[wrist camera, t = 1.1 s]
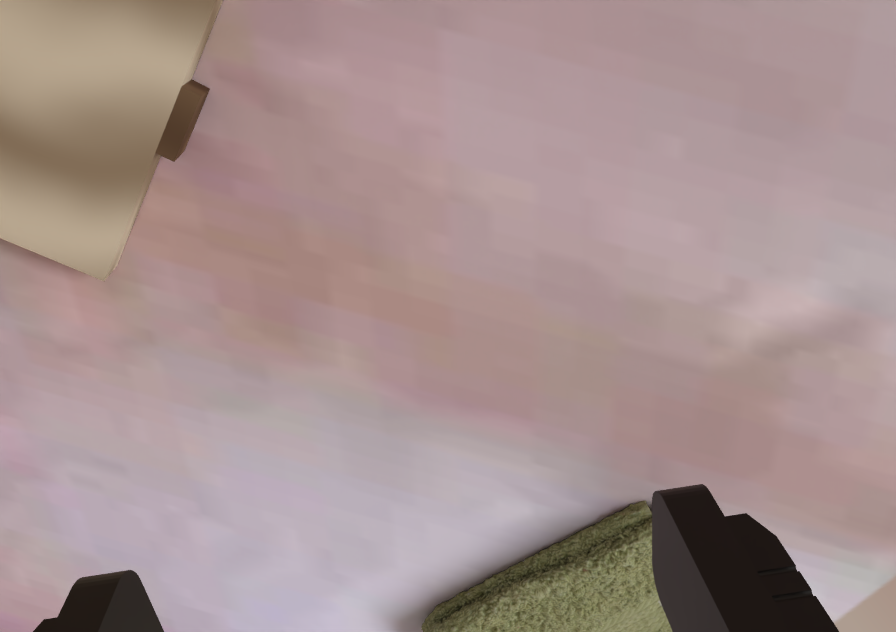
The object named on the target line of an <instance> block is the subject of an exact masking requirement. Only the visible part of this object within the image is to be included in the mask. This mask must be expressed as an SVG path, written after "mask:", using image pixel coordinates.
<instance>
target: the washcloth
mask: <svg viewBox="0 0 896 632" xmlns="http://www.w3.org/2000/svg"><path fill="white" fill-rule="evenodd" d="M422 630H423V632H673V631H672V629H671V626H670V624H669V622H668V619H667V617H666V614H665V612H664V610H663V607H662V605H661V602H660V599H659V596H658V593H657V589H656V585H655V581H654V575H653V568H652V512H651V511H650V509H649V507H648V505H647V504H646V501H641V502H638V503H636V504H634V505H633V504H630V505H629V507H627V508H625V509H624V510H622V511H621V512H617V513H615V514H613V515H611V516H608V517H607V518H605V519H603V520H602V521H601V522H599V523H597V524H595V525H594V526H590V527H589V528H586V529H585V530H583V531H579V532H577V533H576V534H575V535H571V536H570V537H569V538H567V539H565V540H563V541H562V542H560V543H556V544H553V545H552V546H551V547H549V548H548V549H545V550H541V551H540V552H539V553H538V554H535V556H531V557H529V558H526V559H525V561H524V562H519V563H518V564H516V565H514V566H512V567H510V568H508V569H507V570H505V571H504V572H500V573H499V574H495V575H493V576H492V577H491V578H489V579H486V580H485V581H484V582H483V583H482V584H479V585H476V586H475V587H472V588H470V589H469V591H464V592H461V593H459V594H458V595H456V597H454V598H453V599H451V600H449V601H445V602H442V603H441V604H439V605H437V606H436V607H435V609H434V611H433V612H432V613H431V614H430V615H428V617H427V618H426V619H425V622H424V623H423V625H422Z"/></svg>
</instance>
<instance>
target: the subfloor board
mask: <svg viewBox="0 0 896 632" xmlns="http://www.w3.org/2000/svg"><path fill="white" fill-rule="evenodd" d="M222 2H223V0H0V238H1V239H3V240H6V241H8V242H11V243H13V244H15V245H18V246H20V247H23V248H25V249H27V250H30V251H32V252H35V253H37V254H39V255H42V256H44V257H47V258H49V259H51V260H54V261H56V262H59V263H61V264H64V265H66V266H68V267H71V268H73V269H76V270H78V271H80V272H83V273H85V274H88V275H90V276H92V277H95V278H97V279H100V280H102V281H105V280H106V279H107V277H108V276H109V275H110V274H111V272H112V271H113V270H114V269H115V268H116V266H117V264H118V262H119V259H120V257H121V254H122V252H123V249H124V247H125V244H126V242H127V239H128V237H129V234H130V232H131V229H132V227H133V224H134V222H135V219H136V217H137V214H138V212H139V209H140V207H141V204H142V202H143V199H144V197H145V194H146V192H147V189H148V187H149V184H150V182H151V179H152V177H153V174H154V172H155V169H156V167H157V164H158V162H159V159H160V157H161V156H163V157H165V158H167V159H169V160H171V161H175V160H176V159H177V158H178V157H179V156H180V155H181V154H182V153H183V152H184V150H185V148H186V146H187V143H188V141H189V138H190V136H191V133H192V131H193V129H194V126H195V124H196V121H197V119H198V116H199V114H200V111H201V109H202V107H203V104H204V102H205V99H206V97H207V94H208V92H209V90H210V89H209V88H207V87H205V86H203V85H202V84H200V83H198V82H196V81H194V80H192V77H193V74H194V72H195V69H196V67H197V64H198V62H199V59H200V57H201V54H202V52H203V49H204V47H205V44H206V42H207V39H208V37H209V34H210V32H211V29H212V27H213V24H214V22H215V19H216V17H217V14H218V12H219V9H220V7H221V4H222Z"/></svg>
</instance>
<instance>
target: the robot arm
mask: <svg viewBox="0 0 896 632" xmlns="http://www.w3.org/2000/svg"><path fill="white" fill-rule="evenodd" d="M652 568H653V575H654V581H655V585H656V589H657V593H658V596H659V599H660V602H661V605H662V607H663V610H664V612H665V614H666V617H667V619H668V622H669V624H670V626H671V629H672V631H673V632H839V631H838V629H837V628H836V626H835V625H834V623H833V622H832V620H831V619H830V617H829V615H828V614H827V612H826V611H825V609H824V608H823V606H822V605H821V603H820V602H819V600H818V599H817V597H816V596H813V594H812V590H811V588H810V587H809V585H808V584H807V582H806V581H805V579H804V577H803V576H802V574H801V573H800V571H798V572H797V570H796V565H795V564H794V562H793V561H792V559H791V558H790V556H789V555H788V553H787V552H786V550H785V549H784V547H783V546H782V544H781V543H780V541H779V539H778V538H777V536H775V535H774V534H773V533H771V532H770V531H769V530H768V529H766V528H765V527H764V526H762V525H761V524H760V523H758V522H757V521H756V520H754V519H753V518H752V517H750V516H749V515H748V514H747V513H745V514H738V515H732V516H726V517H725V516H724V515H723V513H722V511H721V510H720V508H719V506H718V505H717V503H716V501H715V499H714V498H713V496H712V494H711V493H710V491H709V490H708V488H707V487H706V486H705V485H703V484H699V485H693V486H686V487H680V488H673V489H667V490H660V491H655V492H654V493H653V497H652ZM33 632H164V631H163V628H162V626H161V624H160V622H159V619H158V617H157V615H156V613H155V611H154V608H153V606H152V604H151V602H150V600H149V597H148V595H147V593H146V591H145V589H144V586H143V584H142V582H141V580H140V578H139V576H138V575H137V573H136V572H134V571H132V570H127V571H121V572H114V573H108V574H101V575H95V576H88V577H82V578H80V579H78V580H77V581H76V582H75V584H74V585H73V587H72V588H71V590H70V592H69V595H68V597H67V599H66V601H65V603H64V605H63V607H62V609H61V611H60V613H59V615H58V617H57V618H51V619H44V620H43V621H42V622H41V623H40V624H39V626H38V627H37V628H36V629H35V630H34V631H33Z"/></svg>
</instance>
